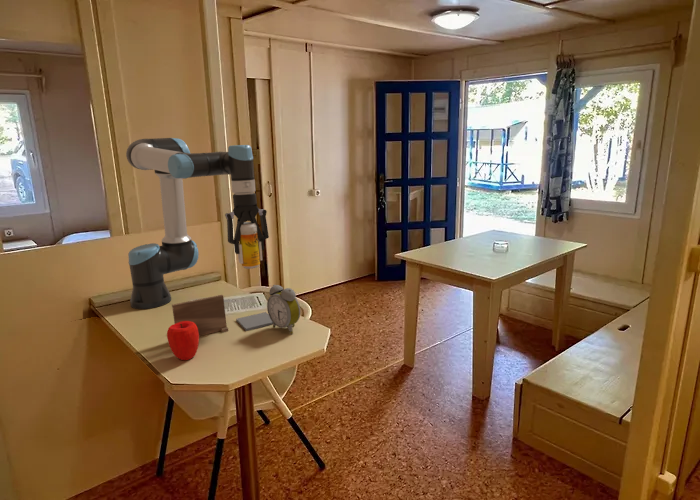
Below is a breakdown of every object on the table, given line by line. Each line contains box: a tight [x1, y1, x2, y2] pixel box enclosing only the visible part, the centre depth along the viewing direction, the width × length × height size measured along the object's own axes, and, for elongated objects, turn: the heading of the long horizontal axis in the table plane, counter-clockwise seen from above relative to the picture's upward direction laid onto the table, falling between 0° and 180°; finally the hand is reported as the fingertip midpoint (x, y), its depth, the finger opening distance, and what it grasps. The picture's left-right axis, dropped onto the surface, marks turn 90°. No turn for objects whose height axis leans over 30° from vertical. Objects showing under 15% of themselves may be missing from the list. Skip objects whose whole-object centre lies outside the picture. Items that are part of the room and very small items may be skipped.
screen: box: [171, 294, 229, 337], centre depth 149 cm, size 5×16×12 cm, turn 120°
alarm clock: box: [266, 284, 301, 335], centre depth 150 cm, size 12×7×15 cm, turn 47°
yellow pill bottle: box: [239, 221, 261, 270], centre depth 153 cm, size 6×6×15 cm
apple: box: [166, 321, 200, 361], centre depth 133 cm, size 9×9×11 cm
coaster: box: [236, 311, 273, 332], centre depth 159 cm, size 11×11×1 cm
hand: (250, 261), depth 154 cm, fingers closed on yellow pill bottle, 6 cm apart
